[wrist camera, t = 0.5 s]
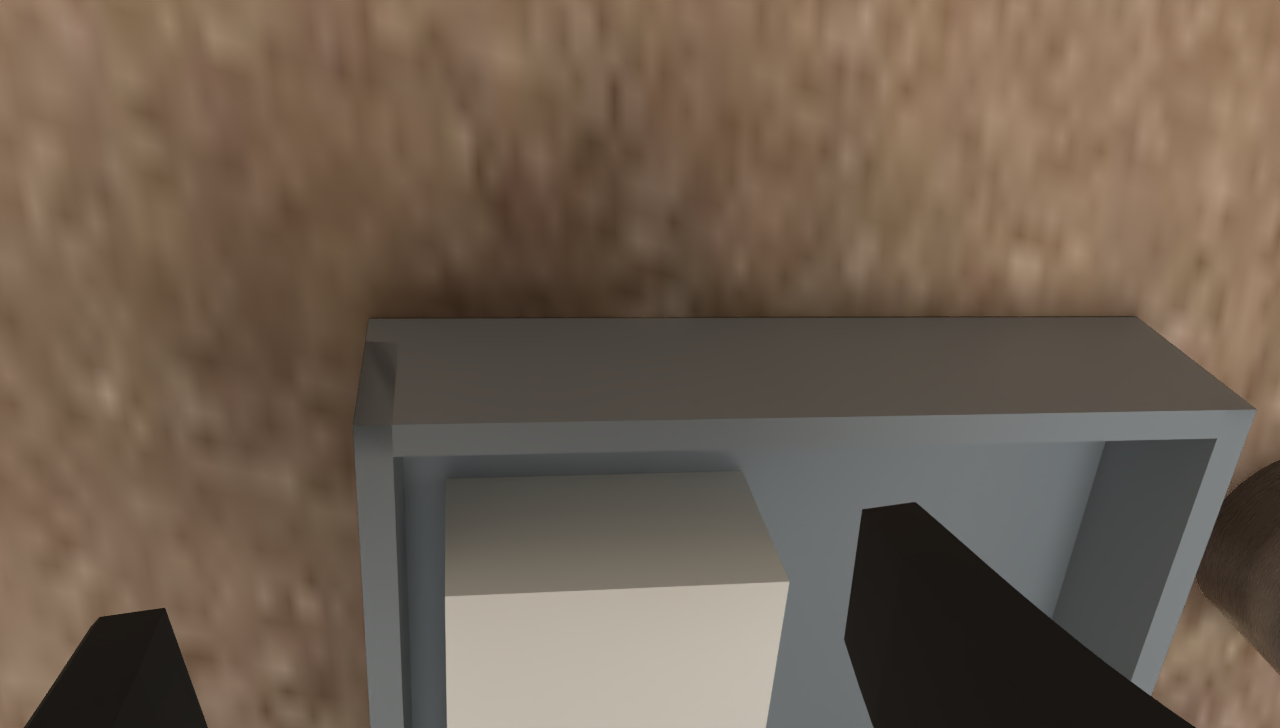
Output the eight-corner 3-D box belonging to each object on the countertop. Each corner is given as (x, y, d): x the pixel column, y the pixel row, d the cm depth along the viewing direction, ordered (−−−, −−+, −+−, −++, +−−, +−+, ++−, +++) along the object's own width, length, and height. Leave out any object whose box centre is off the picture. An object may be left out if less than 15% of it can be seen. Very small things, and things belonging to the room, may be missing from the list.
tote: (981, 836, 31) (1049, 970, 27) (395, 886, 28) (388, 1042, 25) (1137, 316, 24) (1257, 409, 20) (368, 318, 21) (352, 426, 17)
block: (697, 813, 27) (730, 948, 24) (450, 832, 26) (450, 975, 23) (742, 471, 23) (789, 581, 20) (445, 478, 22) (444, 597, 19)
